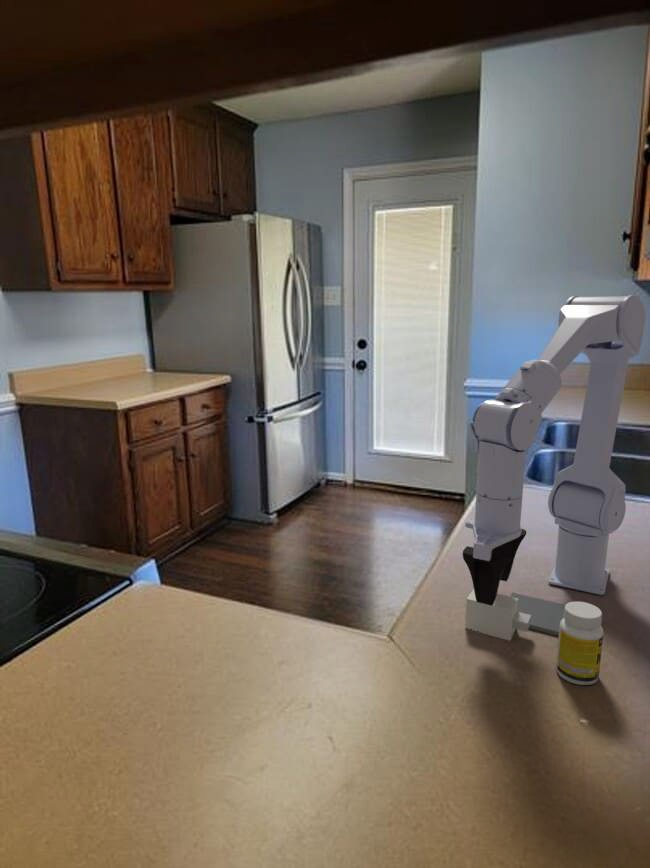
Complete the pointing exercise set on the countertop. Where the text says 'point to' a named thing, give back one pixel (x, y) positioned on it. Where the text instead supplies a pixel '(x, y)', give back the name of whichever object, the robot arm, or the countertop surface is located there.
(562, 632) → the supplement bottle
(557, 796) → the countertop surface
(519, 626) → the block
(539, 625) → the coaster
